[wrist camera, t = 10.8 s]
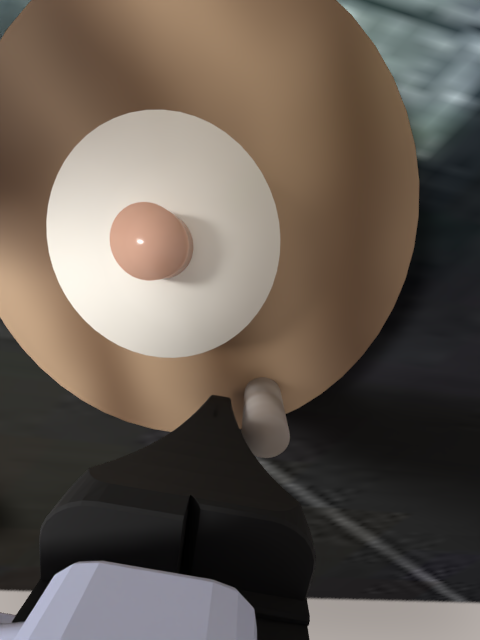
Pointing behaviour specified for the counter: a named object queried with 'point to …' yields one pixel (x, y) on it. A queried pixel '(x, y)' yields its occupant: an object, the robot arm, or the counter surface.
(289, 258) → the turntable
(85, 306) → the lid
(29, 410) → the counter surface
